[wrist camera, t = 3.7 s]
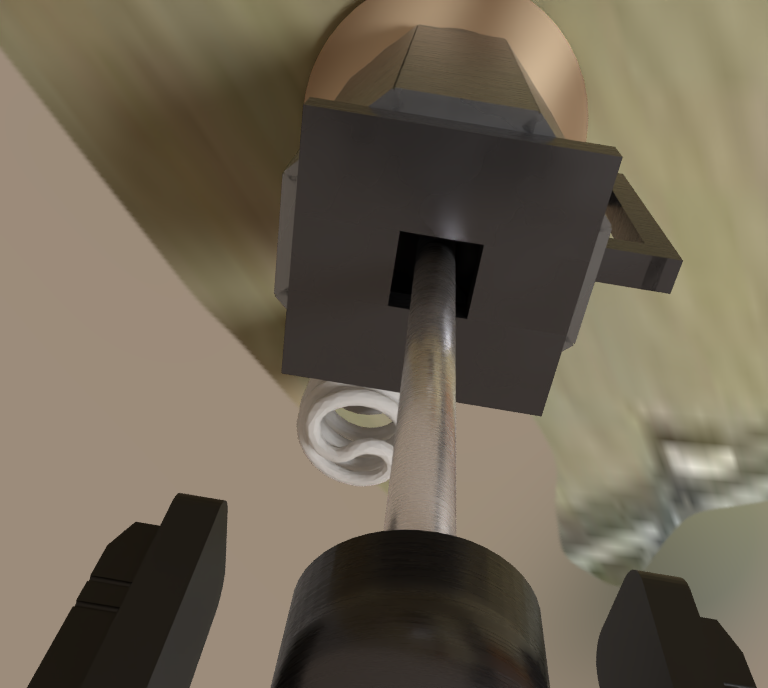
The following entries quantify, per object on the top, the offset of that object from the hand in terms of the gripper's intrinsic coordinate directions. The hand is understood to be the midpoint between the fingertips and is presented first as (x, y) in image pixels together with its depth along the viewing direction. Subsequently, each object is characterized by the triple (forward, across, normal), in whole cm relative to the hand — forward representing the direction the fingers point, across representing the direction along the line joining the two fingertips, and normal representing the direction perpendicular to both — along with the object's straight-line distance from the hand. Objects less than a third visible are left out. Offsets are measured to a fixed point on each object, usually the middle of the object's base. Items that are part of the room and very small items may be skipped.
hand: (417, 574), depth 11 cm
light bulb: (+29, +2, +12) cm, 32 cm away
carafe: (+28, -2, 0) cm, 28 cm away
